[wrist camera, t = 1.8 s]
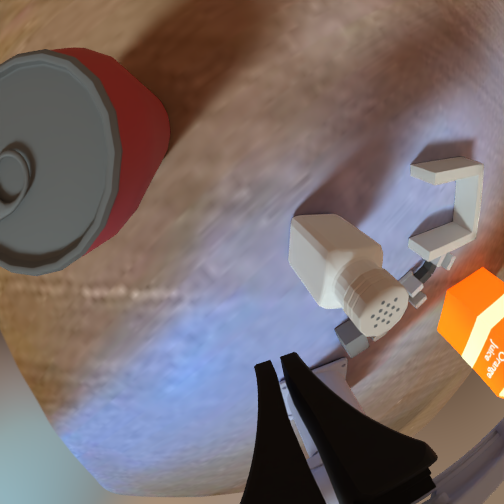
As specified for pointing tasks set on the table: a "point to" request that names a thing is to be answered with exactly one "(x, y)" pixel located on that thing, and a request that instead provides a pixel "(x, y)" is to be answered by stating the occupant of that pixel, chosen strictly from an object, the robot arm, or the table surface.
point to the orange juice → (477, 325)
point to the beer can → (72, 154)
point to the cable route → (358, 341)
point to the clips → (420, 284)
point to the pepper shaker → (346, 272)
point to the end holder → (464, 205)
